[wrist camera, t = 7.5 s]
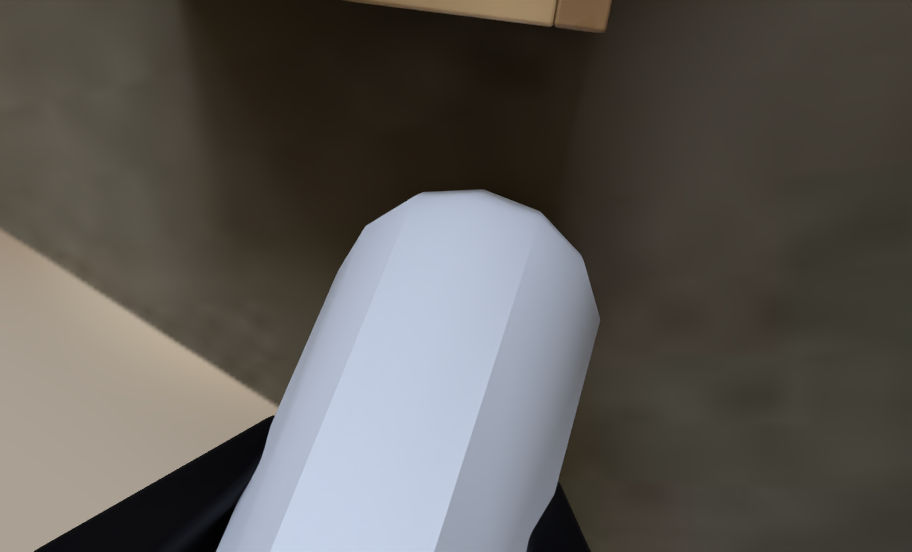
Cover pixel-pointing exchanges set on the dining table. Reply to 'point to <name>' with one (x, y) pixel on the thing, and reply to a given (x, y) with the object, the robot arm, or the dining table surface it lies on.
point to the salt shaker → (429, 388)
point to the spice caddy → (518, 11)
